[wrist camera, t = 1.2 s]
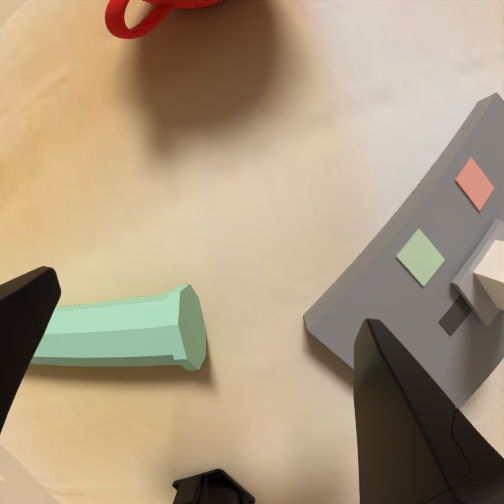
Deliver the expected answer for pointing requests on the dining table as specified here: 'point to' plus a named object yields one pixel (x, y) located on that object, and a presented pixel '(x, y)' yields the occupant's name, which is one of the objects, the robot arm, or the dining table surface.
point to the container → (127, 333)
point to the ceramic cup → (163, 6)
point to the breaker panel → (430, 265)
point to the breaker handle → (484, 275)
